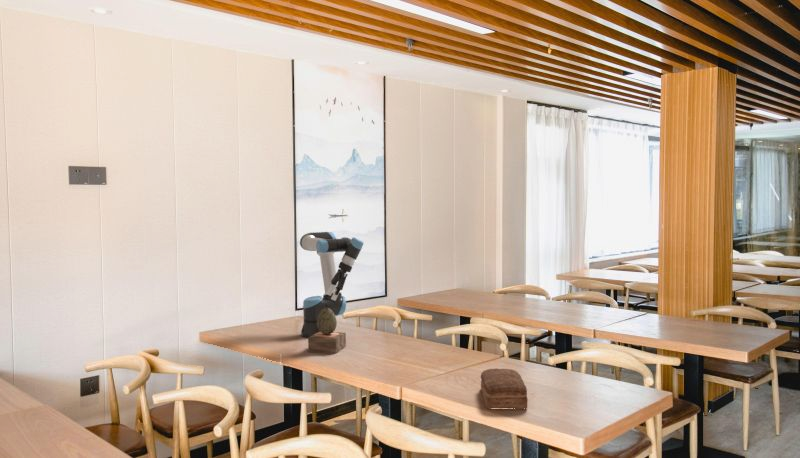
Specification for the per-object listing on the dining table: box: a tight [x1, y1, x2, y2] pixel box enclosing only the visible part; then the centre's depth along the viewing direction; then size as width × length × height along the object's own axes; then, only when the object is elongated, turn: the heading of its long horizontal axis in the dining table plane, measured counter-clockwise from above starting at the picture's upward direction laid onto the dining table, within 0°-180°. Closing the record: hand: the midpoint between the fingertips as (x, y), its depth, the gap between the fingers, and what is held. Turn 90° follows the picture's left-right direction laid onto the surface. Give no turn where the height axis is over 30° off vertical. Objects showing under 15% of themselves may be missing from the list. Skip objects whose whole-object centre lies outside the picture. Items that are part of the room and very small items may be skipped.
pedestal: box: [307, 331, 347, 354], centre depth 354 cm, size 16×16×8 cm
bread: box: [480, 368, 528, 410], centre depth 263 cm, size 17×29×11 cm, turn 177°
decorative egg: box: [317, 307, 338, 335], centre depth 354 cm, size 11×11×15 cm
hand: (330, 297), depth 364 cm, fingers open, 13 cm apart
